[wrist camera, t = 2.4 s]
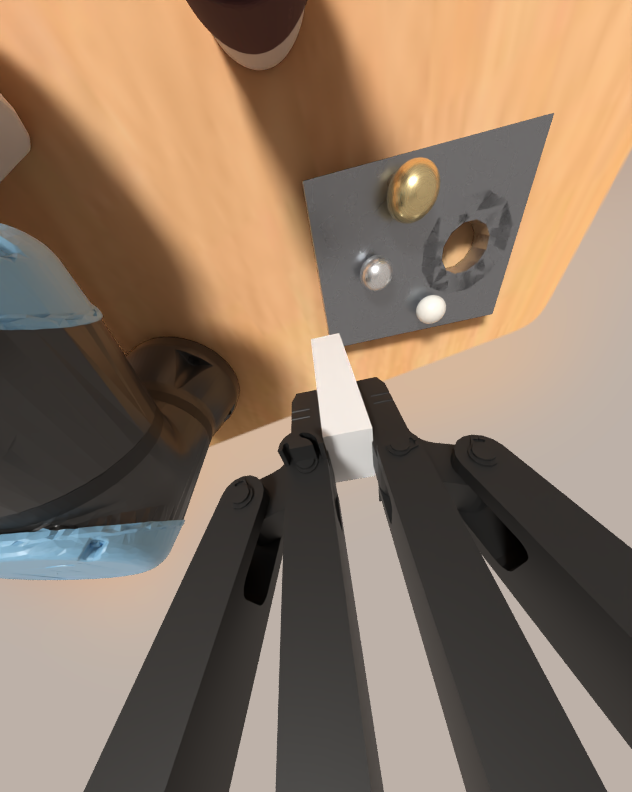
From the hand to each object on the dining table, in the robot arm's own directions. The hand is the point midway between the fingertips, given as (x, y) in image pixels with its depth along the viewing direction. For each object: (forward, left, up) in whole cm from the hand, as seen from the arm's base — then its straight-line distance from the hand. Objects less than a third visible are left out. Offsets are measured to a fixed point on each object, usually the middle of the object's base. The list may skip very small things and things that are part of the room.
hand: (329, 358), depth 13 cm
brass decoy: (+9, +6, -13) cm, 17 cm away
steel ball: (+6, 0, -14) cm, 15 cm away
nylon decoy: (+12, -5, -14) cm, 19 cm away
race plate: (+11, 0, -18) cm, 21 cm away
